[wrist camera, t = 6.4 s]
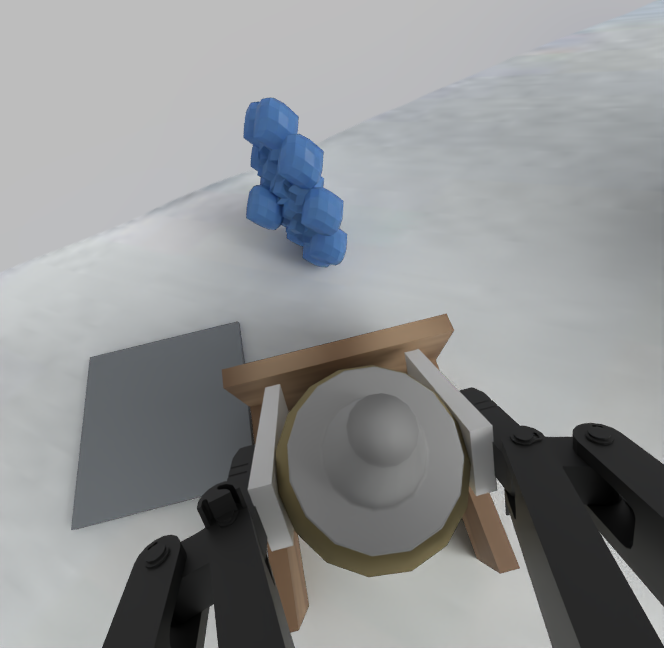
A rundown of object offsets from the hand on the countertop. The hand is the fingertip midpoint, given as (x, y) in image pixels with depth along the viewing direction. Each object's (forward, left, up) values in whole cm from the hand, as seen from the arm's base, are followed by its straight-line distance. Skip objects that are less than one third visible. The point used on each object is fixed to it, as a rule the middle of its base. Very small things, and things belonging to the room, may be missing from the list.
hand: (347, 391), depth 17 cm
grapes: (+1, -16, -7) cm, 17 cm away
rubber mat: (+13, -3, -7) cm, 15 cm away
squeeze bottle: (0, +4, -7) cm, 8 cm away
